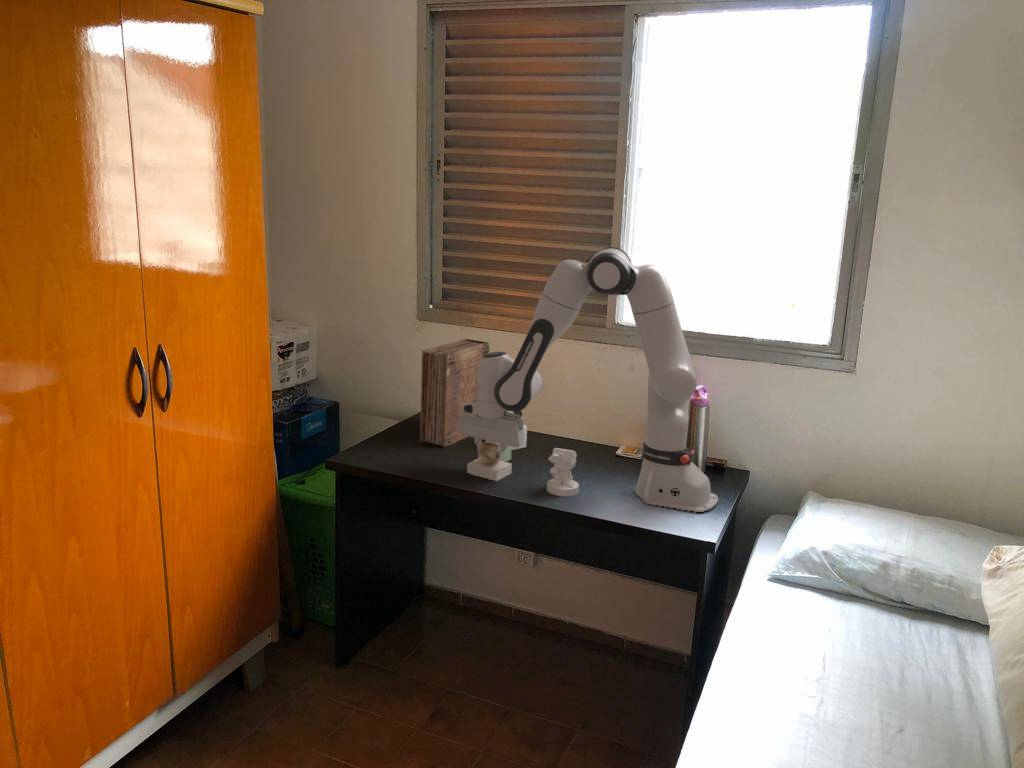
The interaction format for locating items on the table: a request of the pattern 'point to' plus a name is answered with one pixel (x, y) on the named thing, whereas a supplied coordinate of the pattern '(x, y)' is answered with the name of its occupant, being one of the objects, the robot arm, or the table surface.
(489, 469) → the tile slab
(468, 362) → the book
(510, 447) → the sage cube
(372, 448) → the table surface
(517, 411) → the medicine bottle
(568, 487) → the character figurine
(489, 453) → the maple cube
